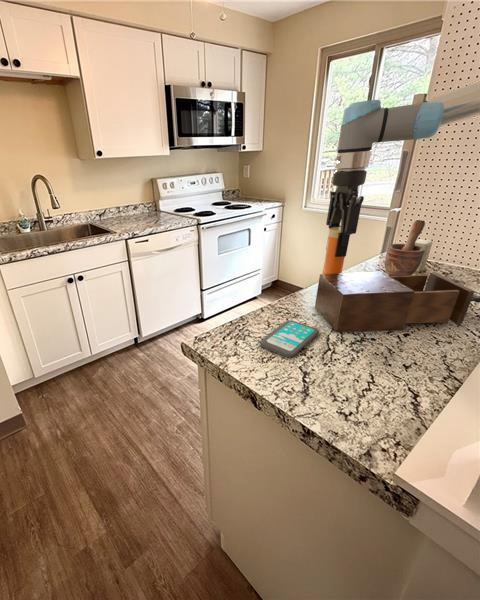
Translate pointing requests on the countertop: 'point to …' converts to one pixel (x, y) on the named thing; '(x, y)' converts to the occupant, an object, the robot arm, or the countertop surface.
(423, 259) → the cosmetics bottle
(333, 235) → the spice jar
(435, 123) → the robot arm
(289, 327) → the smartphone
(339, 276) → the cabinet
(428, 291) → the drawer
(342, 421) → the countertop surface
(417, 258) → the mortar and pestle
